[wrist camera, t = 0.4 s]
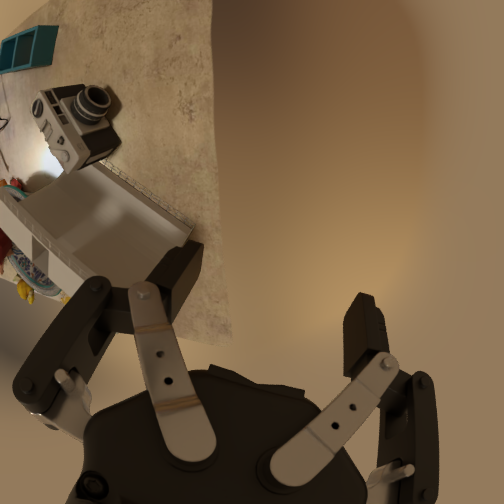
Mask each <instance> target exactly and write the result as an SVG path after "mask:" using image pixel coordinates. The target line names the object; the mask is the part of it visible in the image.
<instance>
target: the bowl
mask: <svg viewBox="0 0 504 504" xmlns="http://www.w3.org/2000/svg"><path fill="white" fill-rule="evenodd" d="M3 187H4V188H5V189H6V190H7V192H8V193H9V194H10V195H11V196H12V197H13V198H14V199H15V200H16V201H17V202H19V201H21V200H23V199H25V198H26V197H28V196H30V195H31V194H33V193H29V192H23V191H22V190H20V189H19V188H17V187H15V186H13V185H5V186H3ZM12 245H13V246H12V251H13V252H14V254H13V255H11V257H10V256H7V258H8V259H9V261H10V263H11V264H12V266H13V267H14V269H15V270H16V272H17V273H18V274H19V275H20V276H21V278H22V279H23V280H24V281H25V282H26V283H27V284H28V285H29V286H30V287H32V288H33V289H34V290H36V291H37V292H39V293H41V294H43V295H46V296H56V295H58V294H59V293H60V292H61V291H62V289H60V288H59V287H58V286H57V285H56V284H55V283H54V282H53V281H52V280H50V279H49V278H48V277H47V276H46V275H45V274H44V273H43V272H42V271H41V270H40V269H39V268H38V267H37V266H36V265H35V264H34V263H33V262H32V261H31V260H30V259H29V258H28V257H27V256H26V255H25V254H24V253H23V252H22V251H21V250H20V249H19V248H18V247H17V246H16V245H15V243H14V242H13V241H12Z"/></svg>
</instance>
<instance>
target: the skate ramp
mask: <svg viewBox="0 0 504 504" xmlns="http://www.w3.org/2000/svg"><path fill="white" fill-rule="evenodd" d="M104 160H105V159H104ZM102 162H103V161H102ZM105 162H106V161H105ZM107 162H108V161H107ZM103 163H104V162H103ZM105 164H106V163H105ZM105 164H104V165H105ZM110 164H111V163H110ZM106 165H107V164H106ZM111 165H112V164H111ZM112 167H113V166H112ZM114 167H115V166H114ZM110 168H111V167H110ZM112 169H113V168H112ZM112 169H111V170H112ZM113 170H114V169H113ZM118 170H119V169H118ZM114 171H115V170H114ZM120 172H122V171H120ZM120 172H119V174H120ZM117 173H118V172H117ZM122 173H123V172H122ZM125 175H126V174H125ZM121 176H122V175H121ZM127 177H129V176H127ZM124 178H125V177H124ZM129 178H130V177H129ZM125 179H127V178H125ZM0 180H1V179H0ZM132 180H133V179H132ZM126 181H127V180H126ZM126 181H124V180H122V179H121V178H119V175H118V176H117V175H115V174H114V173H113V172H112V171H110V170H108V169H107V168H106V167H105V166H103V165H102V164H100V163H99V162H96V163H94V164H91V165H89V166H87V167H85V168H83V169H81V170H78V171H77V170H76V171H74V172H72V173H70V174H67V173H66V172H65V171H63V172H62V173H61V175H60V176H59V177H58V178H57V179H56V180H55V181H53V182H52V183H50V184H49V185H47V186H45V187H43V188H42V189H40V190H38V191H36V192H35V193H33V194H31V195H30V196H28V197H26V198H25V199H23V200H21V201H19V202H17V201H16V200H15V199H14V198H13V197H12V196H11V195H10V194H9V193H8V192H7V190H6V189H5V188H4V187H3V186H1V187H0V228H1V229H2V230H3V231H4V232H5V233H6V235H7V236H8V237H9V238H10V239H11V240H12V241H13V242H14V243H15V245H16V246H17V247H18V248H19V249H20V250H21V251H22V252H23V253H24V254H25V255H26V256H27V257H28V258H29V259H30V260H31V261H32V262H33V263H34V264H35V265H36V266H37V267H38V268H39V269H40V270H41V271H42V272H43V273H44V274H45V275H46V276H47V277H48V278H49V279H50V280H52V281H53V282H54V283H55V284H56V285H57V286H58V287H59V288H60V289H62V290H63V291H64V292H65V293H66V294H67V295H68V296H70V297H72V296H73V295H74V293H75V292H76V291H77V290H78V288H79V287H80V286H81V285H82V284H83V282H84V281H85V280H86V279H88V278H89V277H92V276H104V277H106V278H108V279H109V280H110V282H111V286H112V287H121V288H130V286H132V285H133V284H134V283H136V282H140V281H145V279H146V278H147V277H148V275H149V274H150V273H151V272H152V270H153V269H154V268H155V266H156V265H157V264H158V263H159V261H160V260H161V259H162V258H163V256H164V255H165V254H166V253H167V251H168V250H170V249H172V248H174V247H176V246H178V247H182V246H183V245H184V243H185V241H186V240H187V238H188V236H189V235H190V233H191V231H192V230H193V228H194V226H195V225H196V224H195V223H194V224H195V225H194V226H193V228H192V229H191V228H189V227H188V226H186V225H185V224H183V223H185V222H183V223H182V222H181V221H179V220H178V219H176V218H175V217H176V215H177V213H176V215H175V217H174V216H172V215H171V214H169V213H168V212H167V211H165V210H164V209H162V208H161V207H160V206H158V204H155V203H154V202H153V201H151V200H150V199H148V198H147V197H146V196H144V195H143V194H142V193H140V192H139V191H137V190H136V189H135V188H134V186H136V185H134V186H133V187H132V186H130V185H129V184H128V183H126ZM128 181H129V180H128ZM135 182H136V181H135ZM1 183H2V182H1ZM131 183H132V182H131ZM136 183H137V182H136ZM132 184H133V183H132ZM134 184H135V183H134ZM139 185H140V184H139ZM142 187H143V186H142ZM138 188H139V187H138ZM139 189H140V188H139ZM143 189H144V188H143ZM143 189H142V190H143ZM146 190H147V189H146ZM141 192H142V191H141ZM149 192H150V191H149ZM150 193H151V192H150ZM146 194H147V193H146ZM151 194H152V193H151ZM153 195H154V194H153ZM149 196H152V195H149ZM156 197H157V196H156ZM149 198H151V197H149ZM157 198H158V197H157ZM153 199H154V198H153ZM156 201H157V200H156ZM159 201H160V200H159ZM157 202H158V201H157ZM163 202H164V201H163ZM158 203H159V202H158ZM164 203H165V202H164ZM160 204H161V203H160ZM167 205H168V204H167ZM163 206H164V205H163ZM168 206H169V205H168ZM164 207H165V206H164ZM170 207H171V206H170ZM167 208H169V207H167ZM171 208H172V207H171ZM166 210H168V209H166ZM174 210H175V209H174ZM170 211H171V210H170ZM177 212H178V211H177ZM174 214H175V213H174ZM181 215H182V214H181ZM177 216H178V215H177ZM184 217H185V216H184ZM180 218H181V217H180ZM181 219H182V218H181ZM187 219H188V218H187ZM188 220H189V219H188ZM184 221H186V219H185V220H184ZM191 222H192V221H191ZM187 223H188V222H187ZM188 224H189V223H188ZM191 226H192V225H191ZM116 334H118V333H117V332H116Z"/></svg>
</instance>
